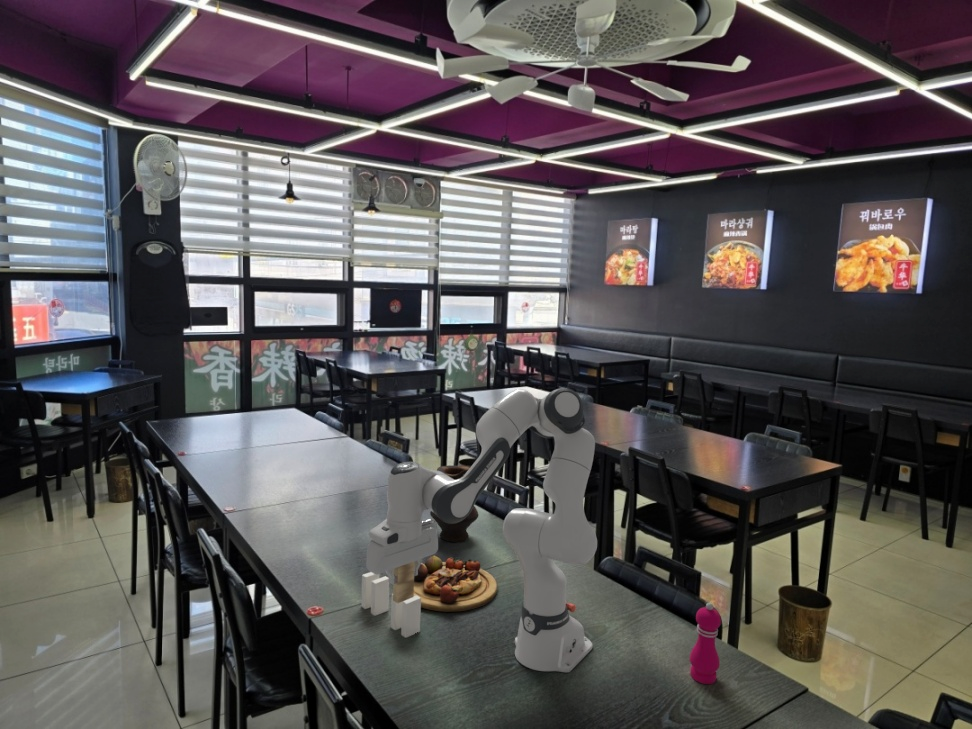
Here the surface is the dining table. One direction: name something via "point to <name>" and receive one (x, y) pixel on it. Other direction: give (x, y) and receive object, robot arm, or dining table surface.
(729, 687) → the dining table surface
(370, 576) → the domino
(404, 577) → the domino
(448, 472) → the jug
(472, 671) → the dining table surface
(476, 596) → the wooden plate with food
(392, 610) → the domino
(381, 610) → the domino
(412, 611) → the domino
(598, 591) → the dining table surface
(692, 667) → the pepper mill
